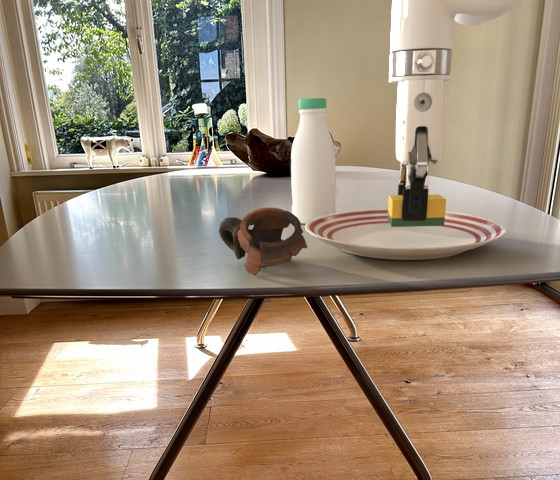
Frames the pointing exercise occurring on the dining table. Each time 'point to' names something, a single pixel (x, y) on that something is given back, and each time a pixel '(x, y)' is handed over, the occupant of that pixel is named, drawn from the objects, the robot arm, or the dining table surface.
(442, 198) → the sponge
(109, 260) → the dining table surface
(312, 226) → the dinner plate
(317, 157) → the milk bottle
